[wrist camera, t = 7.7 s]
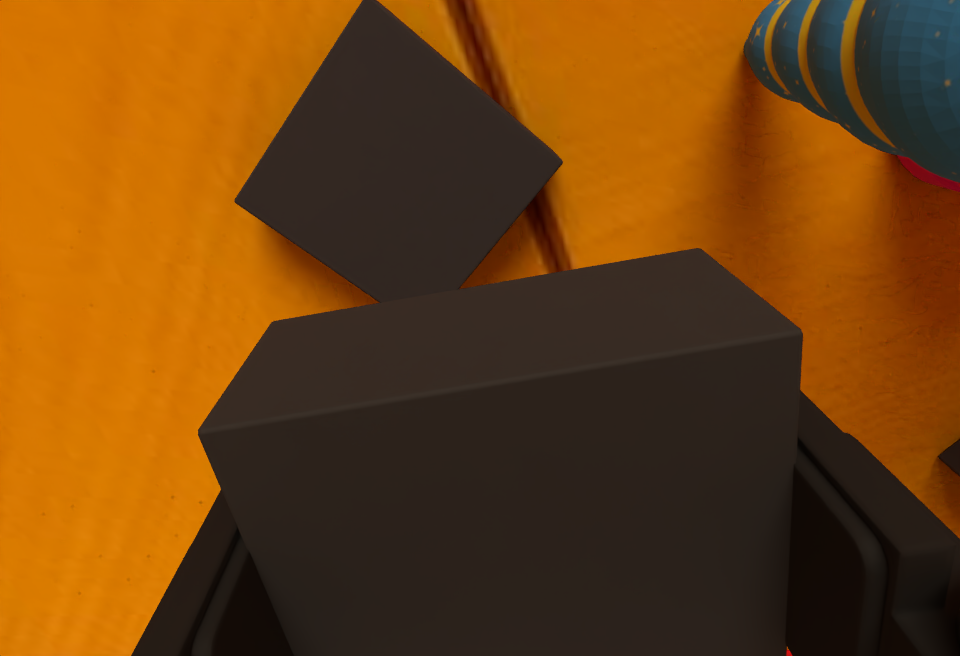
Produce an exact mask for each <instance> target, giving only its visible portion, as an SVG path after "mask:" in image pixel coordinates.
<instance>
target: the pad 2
mask: <svg viewBox="0 0 960 656" xmlns="http://www.w3.org/2000/svg"><path fill="white" fill-rule="evenodd" d="M938 457H939V459H940V460H941V461H943V462H944V463H945V464H946V465H947V466H948V467H949V468H951V469H952V470H953V471H954V472H955V473H956V474H958V475H959V476H960V440H958V441H957V442H956V443H954V444H953V445H952V446H951V447H949V448H948V449H947V450H945V451H944V452H943V453H942V454H940V455H939V456H938Z"/></svg>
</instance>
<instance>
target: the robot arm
mask: <svg viewBox="0 0 960 656" xmlns="http://www.w3.org/2000/svg"><path fill="white" fill-rule="evenodd" d="M785 643H786V645H787V647H788V649H789V650H790V652H791V654H792V656H960V539H959V538H958V537H957V536H956V535H955V534H954V533H953V532H952V531H951V530H950V529H949V528H948V527H947V526H946V525H945V524H944V523H943V522H942V521H941V520H940V519H938V518H937V517H936V516H935V515H934V514H933V513H932V512H931V511H930V510H929V509H928V508H927V507H926V506H925V505H924V504H923V503H922V502H921V501H920V500H919V499H918V498H917V497H916V496H915V495H914V494H913V493H912V492H911V491H910V490H909V489H908V488H907V487H906V486H904V485H903V484H902V483H901V482H900V481H899V480H898V479H897V478H896V477H895V476H894V475H893V474H892V473H891V472H890V471H889V470H888V469H887V468H886V467H885V466H884V465H883V464H882V463H881V462H880V461H879V460H878V459H877V458H876V457H875V456H874V455H873V454H871V453H870V452H869V451H868V450H867V449H866V448H865V447H864V446H863V445H862V444H861V443H860V442H859V441H858V440H857V439H856V438H854V437H853V436H851V435H850V434H848V433H844V432H842V431H841V430H840V429H839V428H838V427H837V426H836V425H835V424H834V423H833V422H832V421H831V420H830V419H829V418H828V417H827V416H826V415H825V414H824V413H823V412H822V411H821V410H820V409H819V408H818V407H817V406H816V405H815V404H814V403H813V402H812V401H811V400H810V399H809V398H808V397H807V396H806V395H805V394H804V393H803V392H802V391H801V390H800V400H799V419H798V439H797V458H796V464H794V471H793V492H792V512H791V533H790V553H789V573H788V594H787V614H786V635H785ZM131 656H294V655H293V652H292V650H291V648H290V645H289V643H288V641H287V638H286V636H285V634H284V631H283V629H282V627H281V624H280V622H279V620H278V617H277V615H276V613H275V610H274V608H273V606H272V603H271V601H270V599H269V596H268V594H267V592H266V589H265V587H264V585H263V582H262V580H261V577H260V575H259V573H258V570H257V568H256V566H255V563H254V561H253V559H252V556H251V554H250V552H249V550H247V548H246V546H245V543H244V541H243V539H242V536H241V534H240V532H239V529H238V527H237V525H236V522H235V520H234V518H233V515H232V513H231V511H230V508H229V506H228V504H227V501H226V499H225V497H224V494H223V492H222V490H221V491H220V493H219V494H218V496H217V498H216V500H215V502H214V504H213V506H212V507H211V509H210V511H209V513H208V515H207V517H206V519H205V521H204V522H203V524H202V526H201V528H200V530H199V532H198V534H197V535H196V537H195V539H194V541H193V543H192V544H191V546H190V547H189V549H188V551H187V553H186V555H185V557H184V558H183V560H182V562H181V564H180V566H179V568H178V570H177V571H176V573H175V575H174V577H173V579H172V581H171V583H170V584H169V586H168V588H167V590H166V592H165V594H164V596H163V597H162V599H161V601H160V603H159V605H158V607H157V609H156V610H155V612H154V614H153V616H152V618H151V620H150V622H149V623H148V625H147V627H146V629H145V631H144V633H143V635H142V637H141V638H140V640H139V642H138V644H137V646H136V648H135V650H134V651H133V653H132V655H131Z"/></svg>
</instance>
